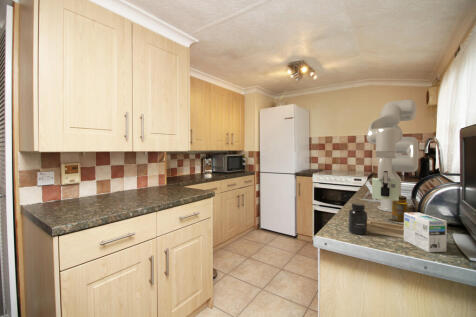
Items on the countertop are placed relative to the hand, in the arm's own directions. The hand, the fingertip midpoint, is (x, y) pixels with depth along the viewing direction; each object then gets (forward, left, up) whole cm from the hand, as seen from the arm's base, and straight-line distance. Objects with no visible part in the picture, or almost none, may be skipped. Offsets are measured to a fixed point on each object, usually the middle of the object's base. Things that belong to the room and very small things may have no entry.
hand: (384, 194), depth 101 cm
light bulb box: (+19, +11, -14) cm, 26 cm away
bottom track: (+11, 0, -14) cm, 18 cm away
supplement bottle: (+17, -10, -14) cm, 24 cm away
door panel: (0, 0, -2) cm, 2 cm away
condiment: (-10, +6, -14) cm, 18 cm away
